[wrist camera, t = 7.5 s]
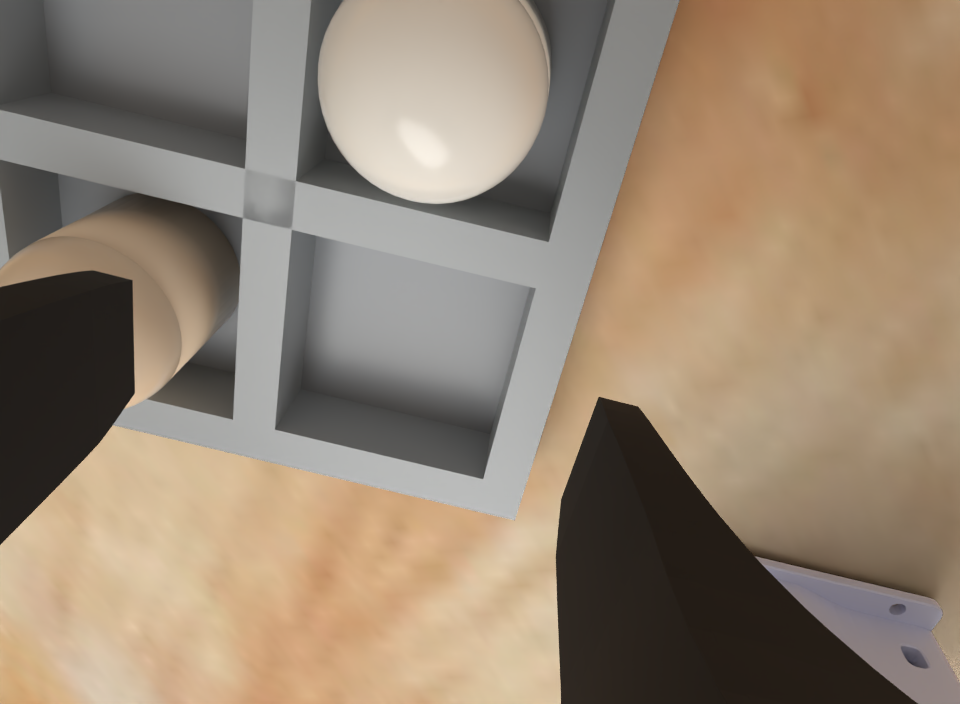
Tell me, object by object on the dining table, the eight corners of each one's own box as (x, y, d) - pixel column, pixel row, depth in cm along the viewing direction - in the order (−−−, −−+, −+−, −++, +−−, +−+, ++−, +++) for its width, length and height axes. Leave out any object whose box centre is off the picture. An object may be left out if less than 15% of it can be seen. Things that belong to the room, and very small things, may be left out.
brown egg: (245, 214, 19) (129, 301, 14) (238, 351, 21) (135, 471, 16) (86, 175, 19) (-87, 249, 14) (95, 317, 21) (-52, 426, 16)
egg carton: (691, -97, 15) (714, -108, 13) (519, 465, 23) (514, 520, 20) (-22, -273, 15) (-128, -317, 13) (45, 352, 22) (-14, 395, 20)
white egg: (574, -14, 16) (578, -6, 11) (526, 177, 18) (509, 259, 13) (382, -63, 16) (294, -78, 11) (356, 134, 18) (273, 201, 13)
